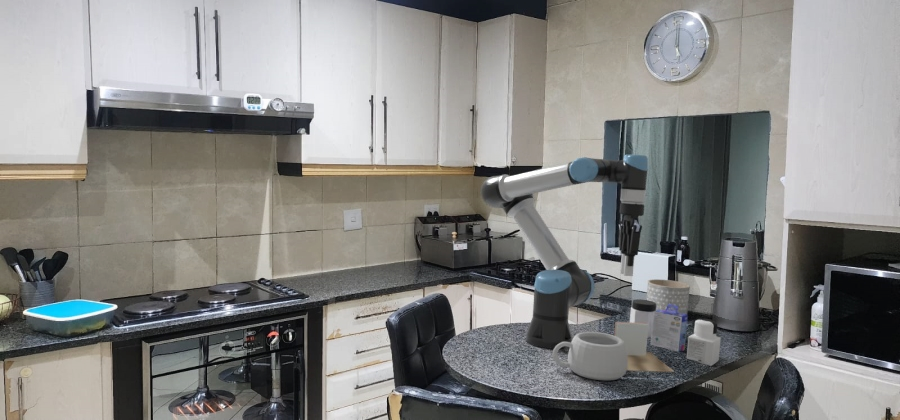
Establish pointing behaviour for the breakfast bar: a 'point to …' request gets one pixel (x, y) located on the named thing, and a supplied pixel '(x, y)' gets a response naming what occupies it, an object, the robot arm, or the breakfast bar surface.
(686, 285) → the planter
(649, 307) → the jar
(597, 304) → the breakfast bar surface
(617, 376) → the mug
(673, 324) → the ink cartridge box
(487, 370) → the breakfast bar surface
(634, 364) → the plate
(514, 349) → the breakfast bar surface
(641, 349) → the tile
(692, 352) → the container
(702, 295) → the breakfast bar surface
